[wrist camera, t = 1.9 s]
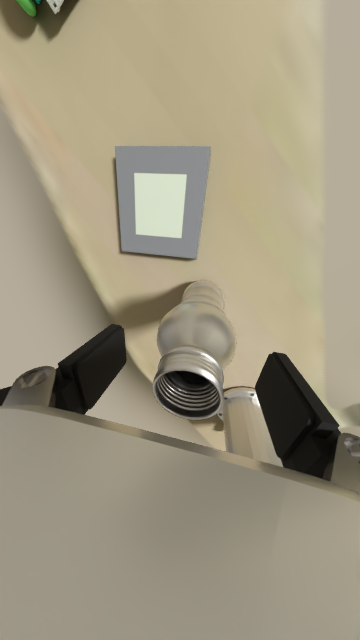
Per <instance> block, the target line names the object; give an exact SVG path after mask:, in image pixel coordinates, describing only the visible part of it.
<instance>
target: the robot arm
mask: <svg viewBox="0 0 360 640" xmlns="http://www.w3.org/2000/svg"><path fill="white" fill-rule="evenodd" d="M125 363H126V348H125V336H124V329H123V328H122V327H121V326H120V325H115V324H111V325H110V326H109V327H107V328H106V329H104V330H103V331H102V332H100V333H99V334H98V335H96V336H95V337H93V338H92V339H91V340H89V341H88V342H87V343H85V344H84V345H83V346H81V347H80V348H78V349H77V350H76V351H74V352H73V353H72V354H70V355H69V356H68V357H66V358H65V359H63V360H62V361H61V362H59V363H58V366H59V367H58V368H57V369H55V368H54V367H50V366H42V367H38V368H34V369H32V370H29V371H27V372H25V373H24V374H22V375H21V376H19V377H18V378H17V379H16V380H15V382H14V383H13V385H12V386H11V387H7V388H3V389H0V640H360V437H358V436H356V435H353V434H350V433H341V432H340V431H339V430H338V427H339V424H338V423H337V422H336V420H335V419H334V418H333V416H332V415H331V414H330V412H329V411H328V410H327V408H326V407H325V406H324V404H323V403H322V402H321V400H320V399H319V398H318V396H317V395H316V394H315V392H314V391H313V390H312V388H311V387H310V386H309V384H308V383H307V382H306V380H305V379H304V378H303V376H302V375H301V374H300V372H299V371H298V370H297V368H296V367H295V366H294V364H293V363H292V362H291V360H290V359H289V358H288V356H287V355H286V354H283V353H277V352H273V353H272V354H269V356H268V358H267V360H266V362H265V365H264V367H263V369H262V371H261V374H260V376H259V378H258V381H257V383H256V385H255V389H253V388H246V387H238V388H233V389H230V390H227V391H225V392H223V393H224V401H223V406H222V408H221V410H220V411H219V412H218V413H217V415H218V417H219V418H220V419H221V420H222V421H223V422H224V433H225V445H226V452H225V451H221V450H217V449H214V448H210V447H206V446H202V445H198V444H195V443H191V442H187V441H183V440H179V439H176V438H172V437H168V436H164V435H160V434H157V433H153V432H149V431H145V430H141V429H137V428H134V427H130V426H126V425H122V424H118V423H114V422H110V421H106V420H102V419H98V418H95V417H90V416H87V415H84V414H85V413H86V412H87V411H88V409H91V408H92V407H93V406H94V405H95V403H96V402H97V401H98V399H99V398H100V397H101V395H102V394H103V393H104V391H105V390H106V389H107V388H108V386H109V385H110V383H111V382H112V381H113V379H114V378H115V377H116V375H117V374H118V373H119V372H120V370H121V369H122V367H123V366H124V365H125ZM74 412H75V413H74Z"/></svg>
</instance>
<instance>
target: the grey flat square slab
mask: <svg viewBox="0 0 360 640" xmlns="http://www.w3.org/2000/svg"><path fill="white" fill-rule="evenodd" d="M115 155H116V171H117V186H118V201H119V216H120V232H121V247H122V251H127V252H136V253H146V254H155V255H165V256H174V257H184V258H193V259H197V255H198V248H199V240H200V232H201V225H202V217H203V209H204V201H205V194H206V186H207V178H208V171H209V163H210V155H211V147H195V146H115Z"/></svg>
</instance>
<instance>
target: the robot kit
mask: <svg viewBox="0 0 360 640" xmlns="http://www.w3.org/2000/svg"><path fill="white" fill-rule="evenodd" d="M16 1H17V2H18V3H19V5H20V6H21V7H22V8H23V10H24V11H25V12H26V13H27V14H29V15H30V16H33V17H34V16H35V15H36V6H35V2H34V0H16ZM35 1H36V2H37V3H38V4H39V3H40V1H41V0H35ZM46 1H47V2H48V4H49V5H50V7H51V8H52V10H53V12H54V13H55V14H56V13H57V12H59V11H60V6H61V5H62V3H63V2H64V0H46Z"/></svg>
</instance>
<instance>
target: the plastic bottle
mask: <svg viewBox="0 0 360 640" xmlns="http://www.w3.org/2000/svg"><path fill="white" fill-rule="evenodd" d="M224 306H225V296H224V293H223V291H222V290H221V288H220V287H219V286H218V285H216V284H215V283H213V282H211V281H207V280H200V281H196V282H193V283H192V284H190V285H189V286H188V287H187V288H186V289H185V291H184V293H183V297H182V302H181V304H179V305H177V306H176V307H174V308H173V309H171V310H170V311H169V312H168V313H167V314H166V315H165V316H164V317H163V319H162V320H161V322H160V325H159V327H158V334H157V346H158V349H159V352H160V354H161V357H162V358H161V360H160V362H159V365H158V371H157V373H156V376H155V378H154V381H153V387H152V389H153V394H154V397H155V399H156V400H157V402H158V403H159V404H160V405H161V406H162V407H163V408H164V409H165V410H167V411H168V412H170V413H171V414H173V415H175V416H178V417H181V418H184V419H189V420H203V419H208V418H210V417H213V416H214V415H216V414H217V413H218V412H219V411H220V410H221V408H222V406H223V401H224V393H223V381H224V376H223V370H224V369H225V368H226V367H227V366H228V365H229V363H230V362H231V361H232V358H233V356H234V353H235V349H236V343H237V341H236V334H235V331H234V328H233V326H232V324H231V322H230V321H229V319H228V317H227V316H226V315H225V313H224V312H223V310H224Z"/></svg>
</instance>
